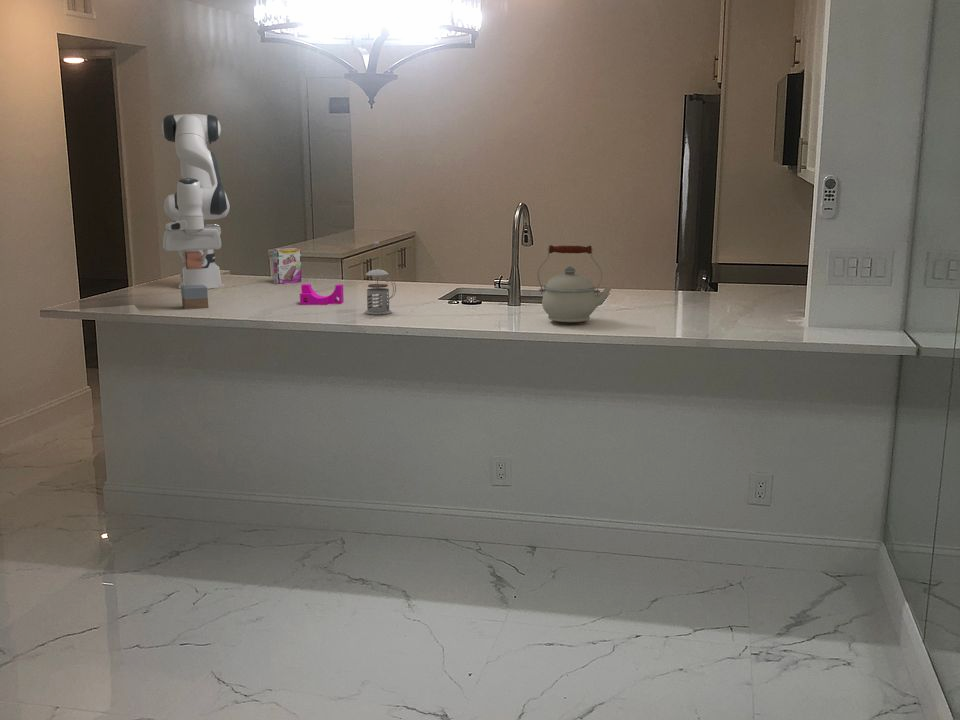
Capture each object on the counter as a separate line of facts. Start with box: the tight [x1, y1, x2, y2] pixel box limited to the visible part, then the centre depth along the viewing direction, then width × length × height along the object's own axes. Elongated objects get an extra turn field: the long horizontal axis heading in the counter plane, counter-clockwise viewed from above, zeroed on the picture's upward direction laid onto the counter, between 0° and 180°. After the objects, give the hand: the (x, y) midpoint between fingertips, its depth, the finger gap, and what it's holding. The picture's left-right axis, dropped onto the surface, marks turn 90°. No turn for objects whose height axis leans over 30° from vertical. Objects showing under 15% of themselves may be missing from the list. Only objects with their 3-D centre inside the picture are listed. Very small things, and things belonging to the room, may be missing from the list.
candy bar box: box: [272, 247, 302, 285], centre depth 401 cm, size 11×5×16 cm, turn 130°
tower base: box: [181, 296, 209, 310], centre depth 345 cm, size 8×8×4 cm
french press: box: [364, 241, 397, 315], centre depth 331 cm, size 10×12×25 cm
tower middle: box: [180, 285, 209, 299], centre depth 344 cm, size 8×8×4 cm
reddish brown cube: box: [184, 251, 202, 270], centre depth 342 cm, size 5×5×6 cm
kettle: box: [536, 244, 612, 323], centre depth 317 cm, size 25×18×25 cm
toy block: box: [299, 283, 345, 306], centre depth 352 cm, size 15×6×8 cm, turn 86°
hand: (193, 262), depth 342 cm, fingers closed on reddish brown cube, 5 cm apart
